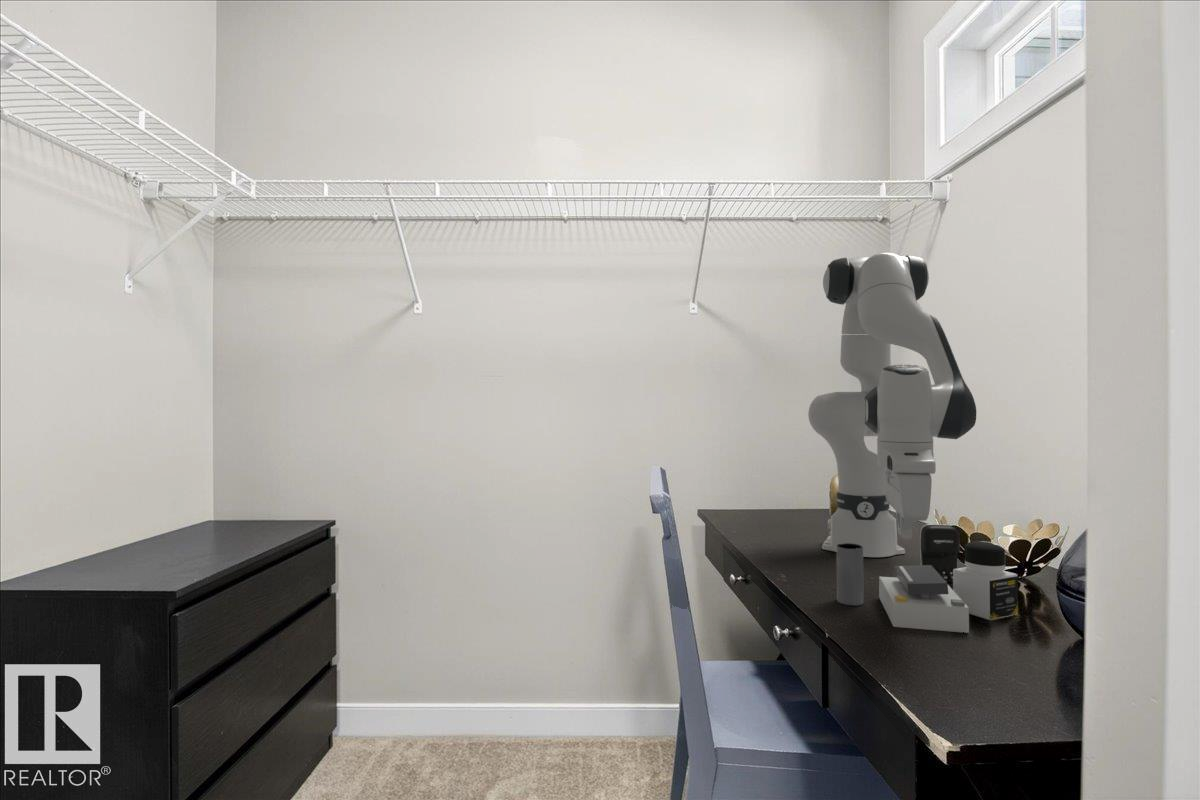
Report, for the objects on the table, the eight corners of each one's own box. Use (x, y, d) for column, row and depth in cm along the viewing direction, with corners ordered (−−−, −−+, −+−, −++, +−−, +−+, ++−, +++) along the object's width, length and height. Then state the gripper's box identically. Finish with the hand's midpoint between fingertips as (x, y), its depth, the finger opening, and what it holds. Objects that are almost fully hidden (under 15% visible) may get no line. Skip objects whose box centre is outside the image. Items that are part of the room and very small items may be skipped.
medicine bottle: (990, 621, 108) (990, 549, 108) (952, 608, 114) (951, 541, 114) (1018, 615, 111) (1018, 545, 111) (979, 603, 117) (979, 537, 117)
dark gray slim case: (896, 575, 118) (895, 565, 118) (932, 575, 117) (930, 564, 117) (908, 594, 107) (907, 582, 107) (948, 594, 105) (947, 582, 105)
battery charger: (925, 583, 130) (924, 526, 130) (918, 578, 134) (918, 523, 134) (962, 584, 129) (962, 527, 129) (955, 579, 133) (954, 524, 133)
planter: (865, 606, 116) (865, 549, 116) (839, 605, 117) (838, 548, 117) (860, 599, 120) (860, 543, 120) (835, 597, 121) (834, 542, 121)
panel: (879, 597, 121) (879, 572, 121) (944, 602, 118) (944, 576, 118) (893, 626, 105) (893, 597, 105) (968, 632, 102) (968, 602, 102)
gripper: (876, 452, 123) (877, 525, 123) (894, 463, 104) (895, 549, 104) (913, 453, 122) (913, 526, 122) (938, 464, 102) (938, 551, 102)
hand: (905, 537), depth 112 cm, fingers closed
